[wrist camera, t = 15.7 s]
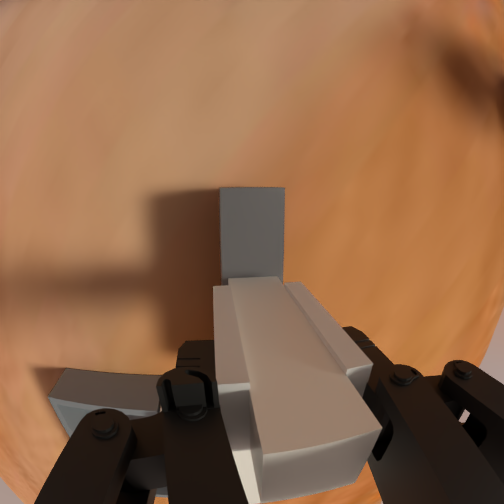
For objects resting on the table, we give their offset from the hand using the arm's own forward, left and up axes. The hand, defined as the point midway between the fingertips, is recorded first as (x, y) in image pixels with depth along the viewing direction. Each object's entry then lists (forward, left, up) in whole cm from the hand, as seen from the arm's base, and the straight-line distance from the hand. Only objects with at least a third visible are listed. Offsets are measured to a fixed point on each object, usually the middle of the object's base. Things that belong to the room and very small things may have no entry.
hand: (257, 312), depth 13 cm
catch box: (+15, -11, -6) cm, 19 cm away
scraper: (0, 0, -5) cm, 5 cm away
